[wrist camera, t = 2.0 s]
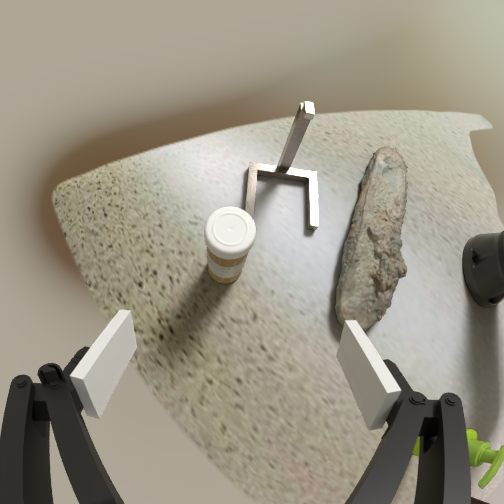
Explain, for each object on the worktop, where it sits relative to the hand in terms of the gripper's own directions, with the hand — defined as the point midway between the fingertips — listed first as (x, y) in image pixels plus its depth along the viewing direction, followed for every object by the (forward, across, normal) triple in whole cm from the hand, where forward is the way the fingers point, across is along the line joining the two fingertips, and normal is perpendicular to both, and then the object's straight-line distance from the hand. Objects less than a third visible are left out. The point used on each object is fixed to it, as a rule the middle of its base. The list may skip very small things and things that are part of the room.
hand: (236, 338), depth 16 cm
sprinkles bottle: (+21, +2, +3) cm, 21 cm away
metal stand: (+28, -6, -6) cm, 29 cm away
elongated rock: (+28, -21, -2) cm, 35 cm away
